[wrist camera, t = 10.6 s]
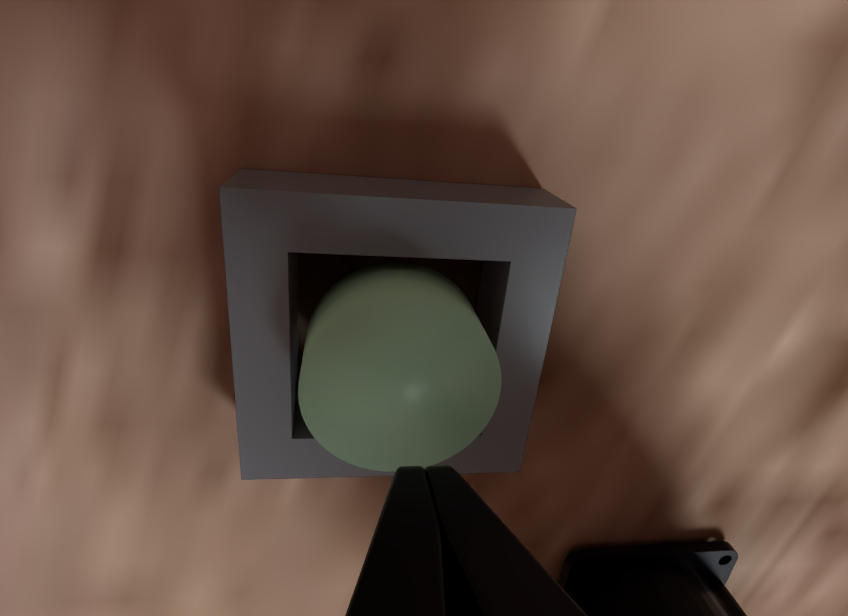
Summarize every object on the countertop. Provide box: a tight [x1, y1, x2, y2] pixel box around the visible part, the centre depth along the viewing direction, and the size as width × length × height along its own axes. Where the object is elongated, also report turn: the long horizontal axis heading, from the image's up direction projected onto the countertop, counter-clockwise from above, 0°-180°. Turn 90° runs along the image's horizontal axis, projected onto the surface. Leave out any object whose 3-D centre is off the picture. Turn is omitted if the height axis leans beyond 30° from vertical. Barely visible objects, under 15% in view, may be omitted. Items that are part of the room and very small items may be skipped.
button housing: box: [219, 169, 576, 480], centre depth 12 cm, size 7×7×2 cm
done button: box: [298, 263, 501, 472], centre depth 11 cm, size 4×4×2 cm
